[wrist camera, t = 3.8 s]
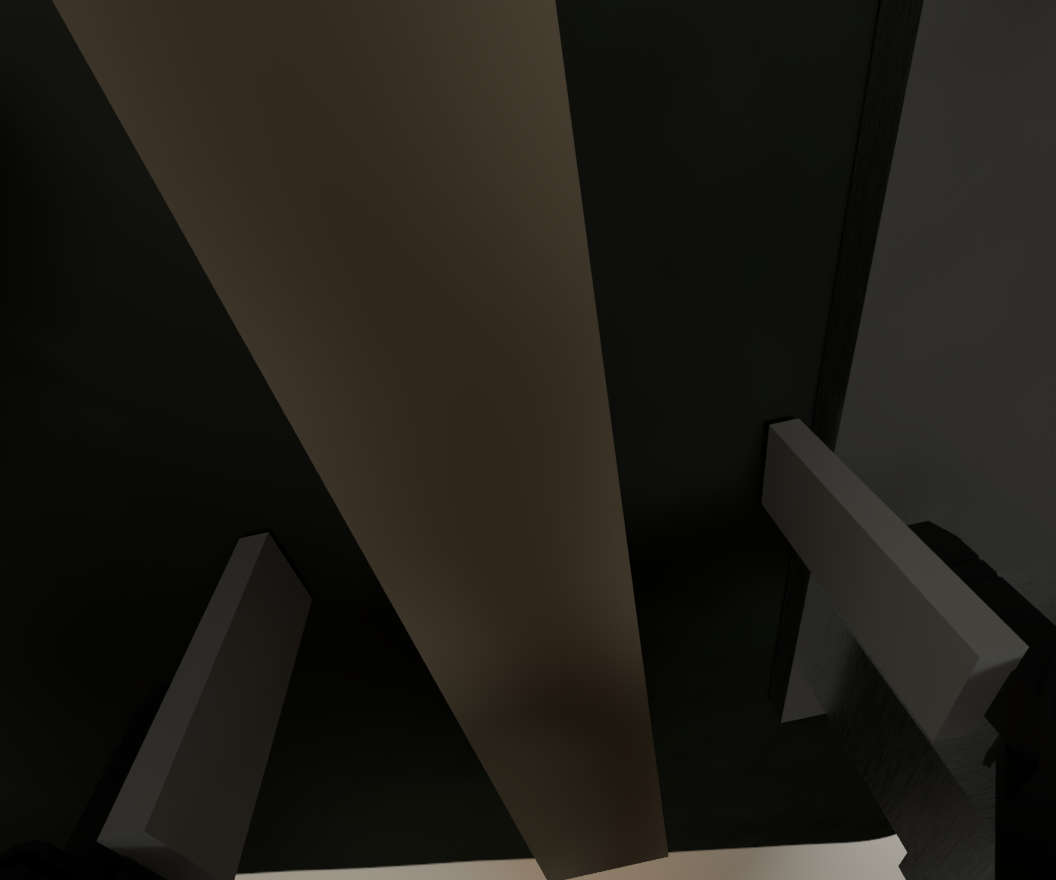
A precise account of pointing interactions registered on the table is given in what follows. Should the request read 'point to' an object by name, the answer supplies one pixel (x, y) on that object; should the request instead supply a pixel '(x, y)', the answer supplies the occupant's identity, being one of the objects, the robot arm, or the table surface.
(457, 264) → the rail
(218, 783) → the robot arm
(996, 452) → the bracket stand
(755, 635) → the table surface
